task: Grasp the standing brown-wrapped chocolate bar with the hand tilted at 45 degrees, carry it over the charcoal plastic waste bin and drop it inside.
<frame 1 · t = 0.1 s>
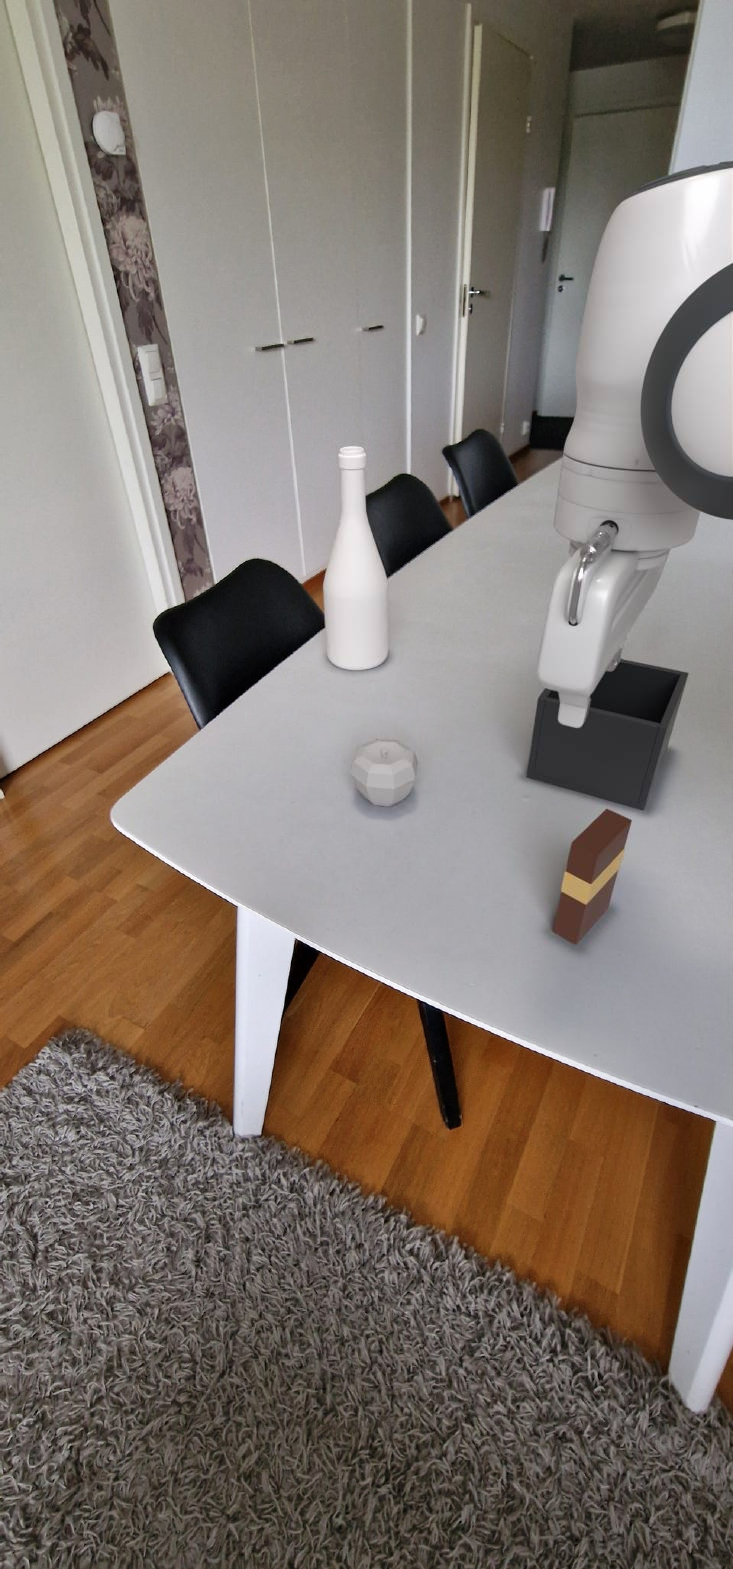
hand: (589, 692, 53), 23 cm above the table, tool pointing down, fingers open, 8 cm apart
chocolate bar: (580, 919, 66), on the table
wine bottle: (357, 659, 109), on the table
apple: (384, 798, 81), on the table
waste bin: (598, 763, 86), on the table
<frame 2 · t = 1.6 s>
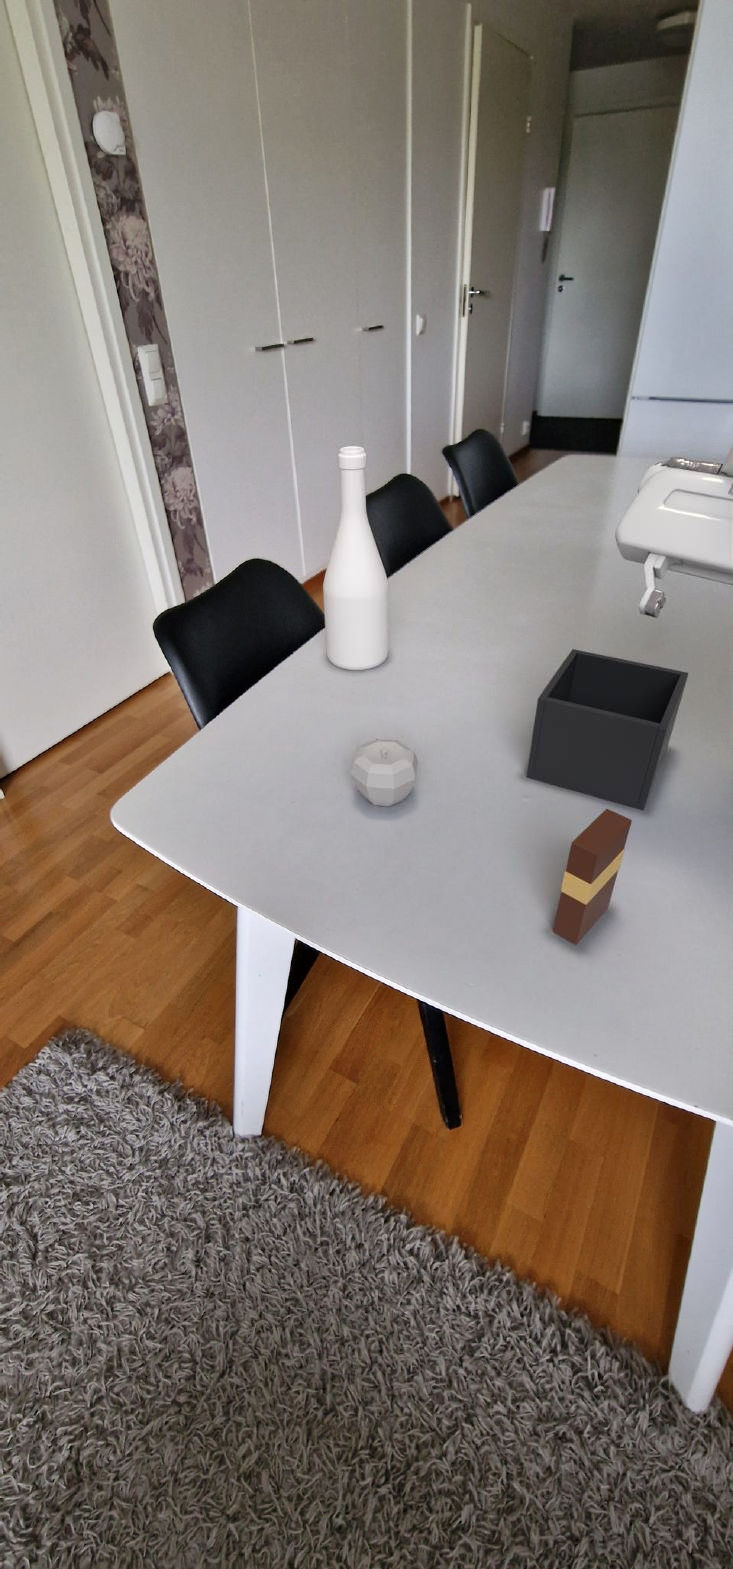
hand: (703, 628, 57), 25 cm above the table, tool tilted 45°, fingers open, 8 cm apart
nothing on the table moved.
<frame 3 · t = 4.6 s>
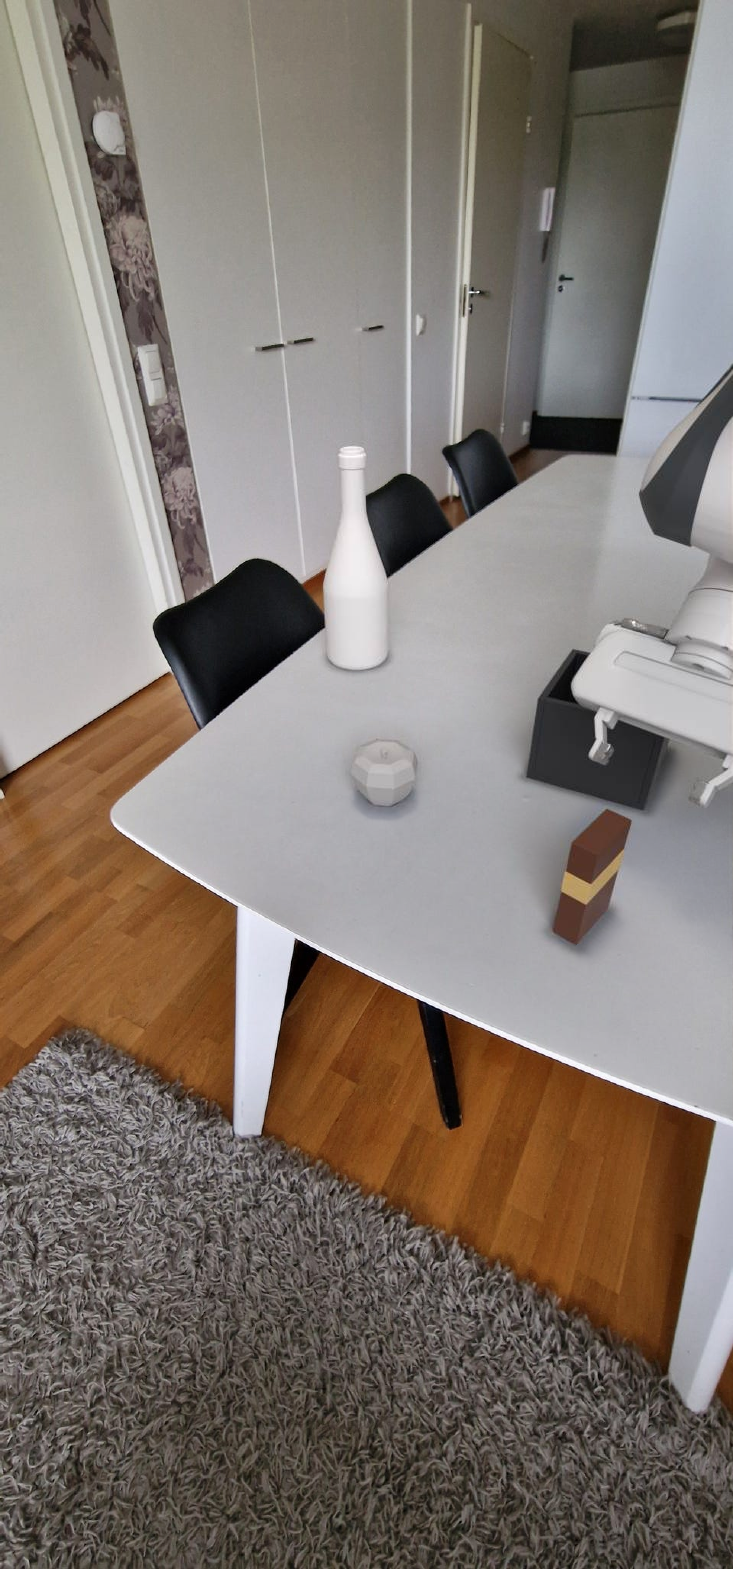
hand: (644, 781, 63), 12 cm above the table, tool tilted 45°, fingers open, 8 cm apart
nothing on the table moved.
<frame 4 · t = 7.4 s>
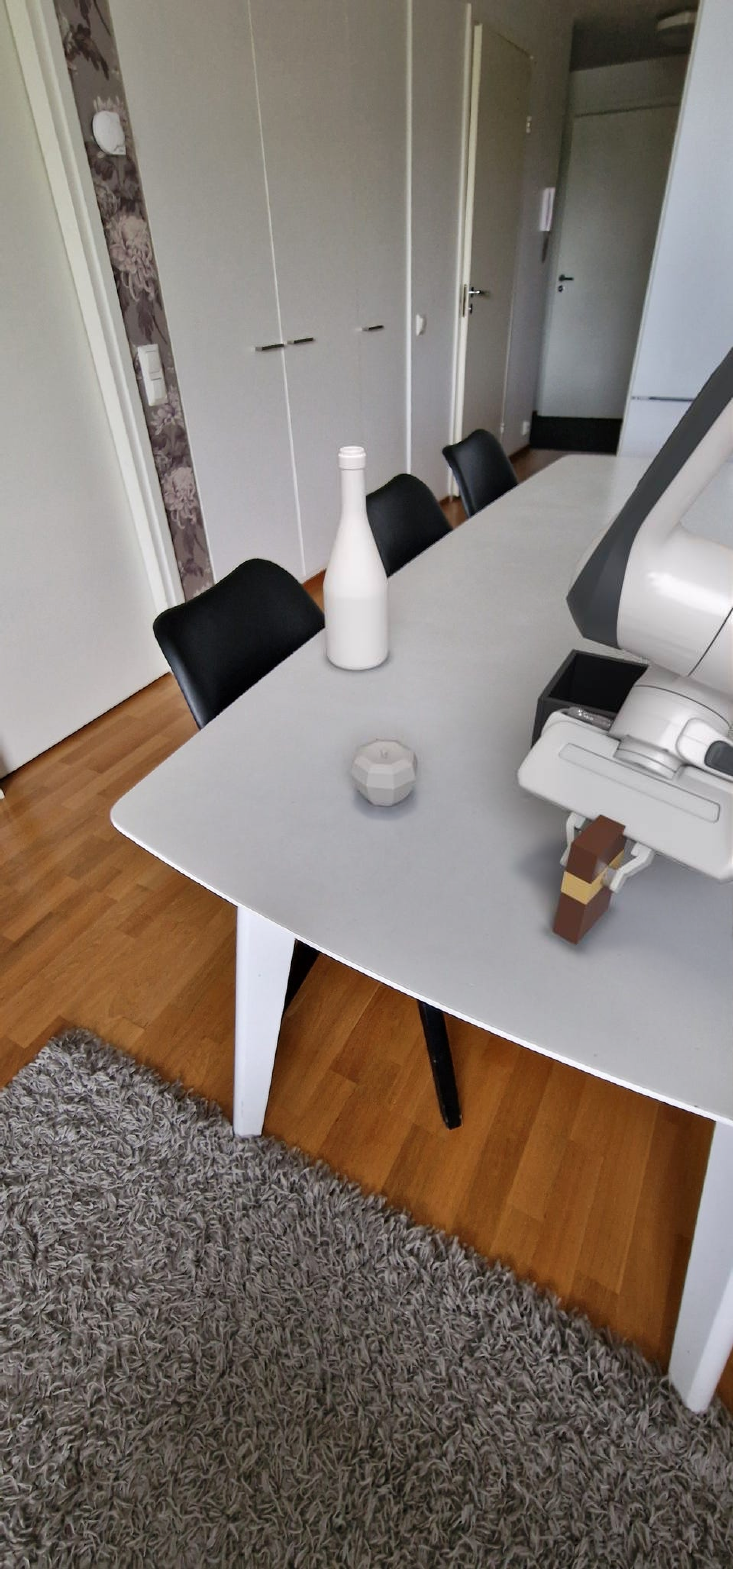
hand: (588, 878, 62), 6 cm above the table, tool tilted 45°, fingers closed on chocolate bar, 2 cm apart
chocolate bar: (580, 919, 66), on the table, touching gripper
everything else where it was.
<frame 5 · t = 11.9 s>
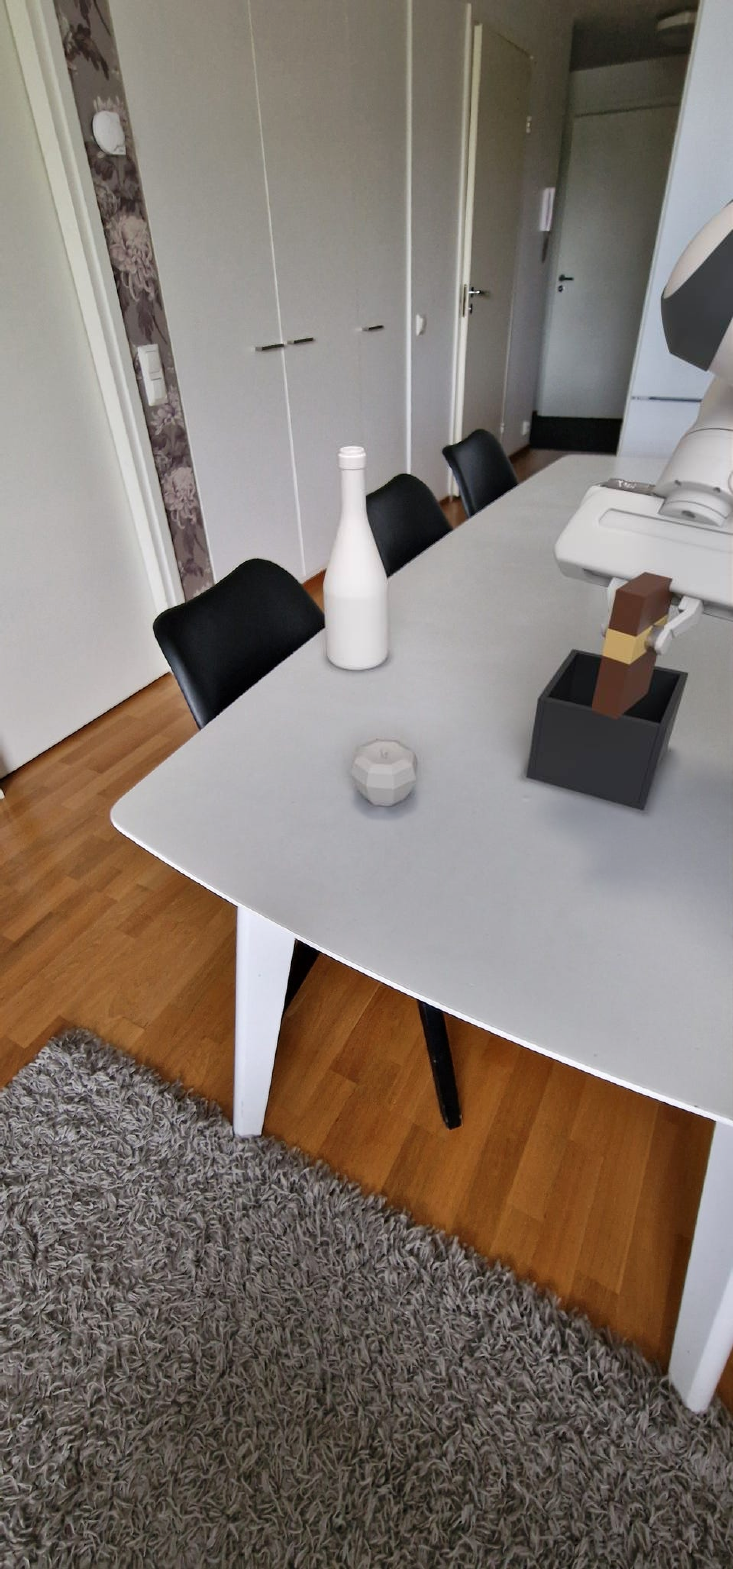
hand: (630, 643, 59), 24 cm above the table, tool tilted 45°, fingers closed on chocolate bar, 2 cm apart
chocolate bar: (619, 701, 62), point 18 cm above the table, touching gripper
everything else where it was.
when the fingers open (15 cm above the table, at t = 16.3 s): chocolate bar drops 9 cm, resting on waste bin.
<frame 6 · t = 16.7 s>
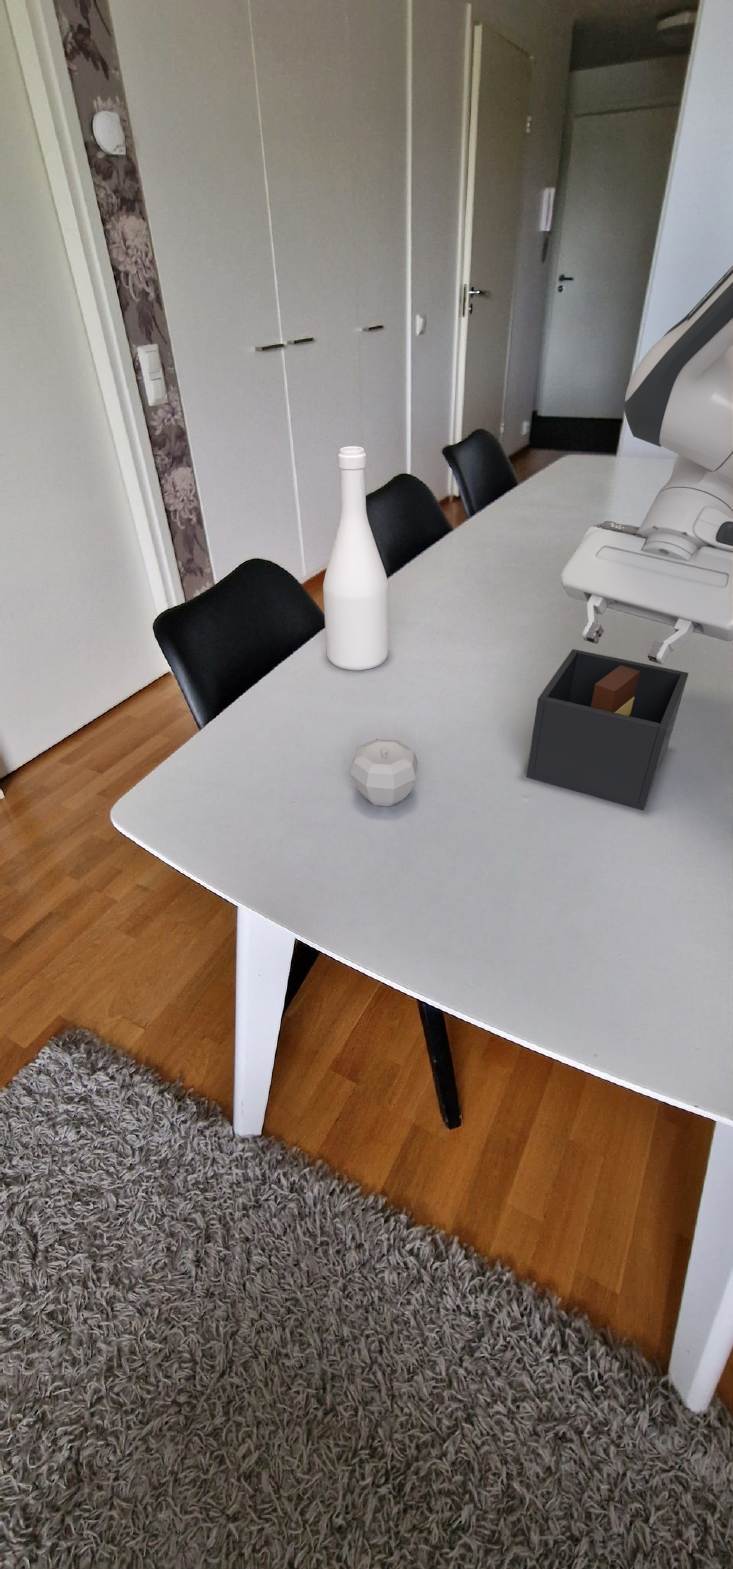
hand: (620, 650, 76), 15 cm above the table, tool tilted 45°, fingers open, 6 cm apart
chocolate bar: (599, 758, 85), point 1 cm above the table, touching waste bin
everything else where it was.
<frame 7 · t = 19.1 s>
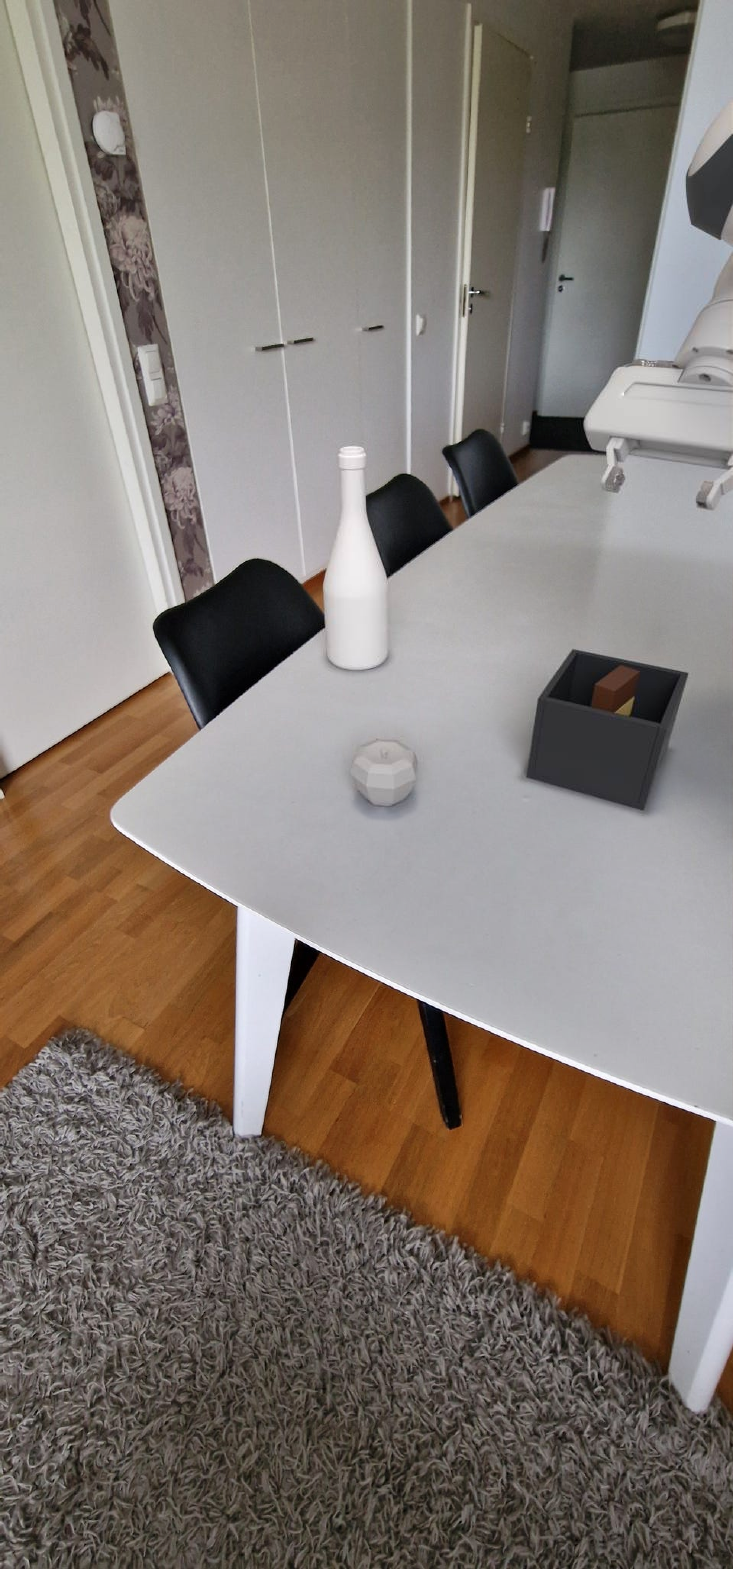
hand: (654, 496, 66), 31 cm above the table, tool tilted 45°, fingers open, 8 cm apart
nothing on the table moved.
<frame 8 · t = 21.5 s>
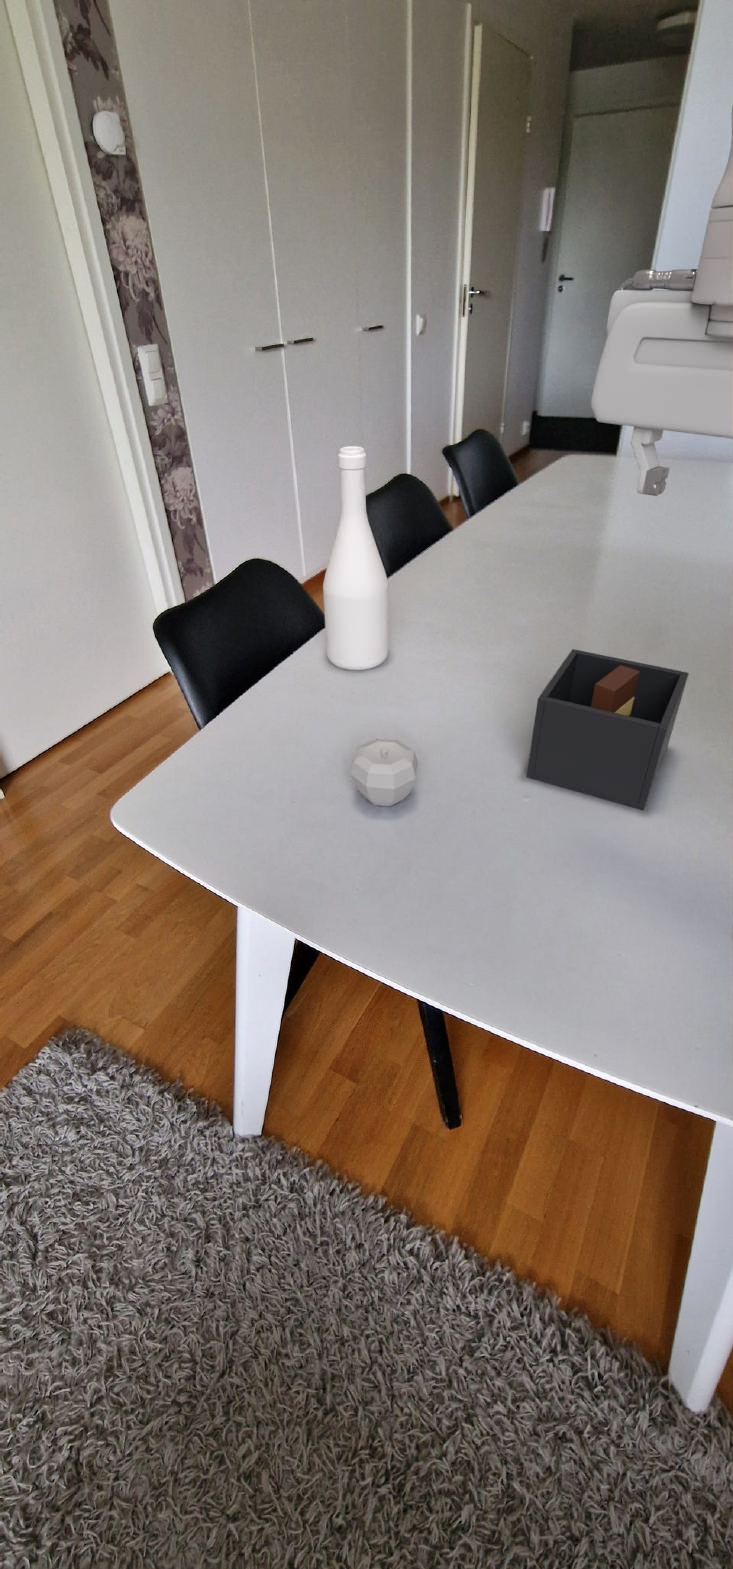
hand: (711, 504, 51), 35 cm above the table, tool pointing down, fingers open, 8 cm apart
nothing on the table moved.
at the end: chocolate bar inside the target area in the waste bin (0.1 cm from its centre), point 0.8 cm above the waste bin's base; the gripper is holding nothing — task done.
